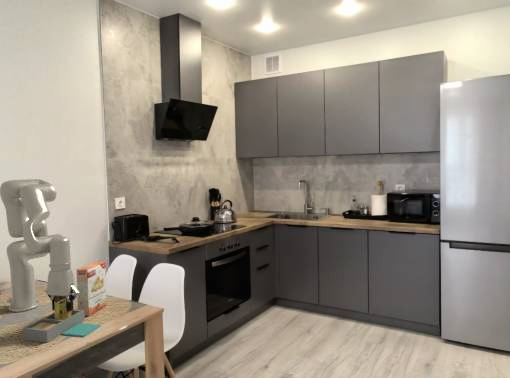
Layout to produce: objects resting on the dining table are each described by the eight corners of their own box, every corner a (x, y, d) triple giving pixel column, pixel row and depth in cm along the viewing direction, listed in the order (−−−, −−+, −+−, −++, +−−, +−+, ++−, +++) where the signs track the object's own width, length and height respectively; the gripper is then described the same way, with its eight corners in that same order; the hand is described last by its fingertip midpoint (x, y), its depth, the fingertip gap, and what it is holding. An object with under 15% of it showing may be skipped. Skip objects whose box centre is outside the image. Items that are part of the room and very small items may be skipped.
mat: (62, 334, 153) (62, 333, 153) (79, 324, 163) (79, 323, 163) (84, 337, 151) (84, 335, 151) (100, 326, 161) (100, 325, 161)
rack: (23, 339, 149) (22, 328, 149) (62, 318, 170) (62, 308, 169) (47, 342, 147) (46, 330, 146) (84, 320, 167) (84, 310, 167)
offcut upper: (31, 333, 151) (31, 327, 151) (42, 327, 156) (41, 322, 156) (46, 335, 149) (46, 329, 149) (57, 329, 154) (56, 324, 154)
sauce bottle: (60, 329, 158) (58, 281, 157) (51, 326, 161) (49, 279, 160) (75, 323, 164) (73, 277, 162) (66, 320, 167) (64, 275, 166)
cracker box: (89, 316, 171) (87, 269, 170) (77, 315, 172) (75, 269, 171) (107, 305, 185) (105, 261, 183) (96, 304, 186) (94, 261, 185)
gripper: (36, 268, 159) (38, 311, 161) (72, 270, 155) (74, 315, 156) (49, 264, 167) (52, 305, 168) (85, 265, 162) (87, 308, 164)
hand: (62, 309), depth 162 cm, fingers closed on sauce bottle, 6 cm apart
